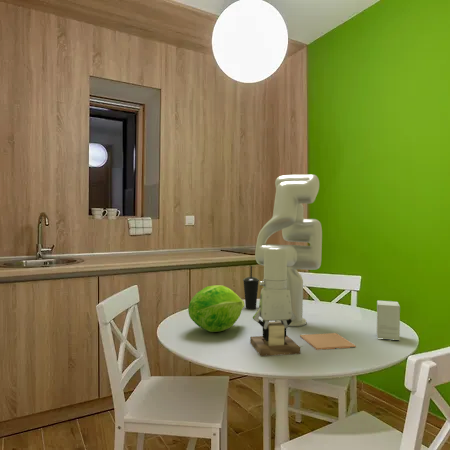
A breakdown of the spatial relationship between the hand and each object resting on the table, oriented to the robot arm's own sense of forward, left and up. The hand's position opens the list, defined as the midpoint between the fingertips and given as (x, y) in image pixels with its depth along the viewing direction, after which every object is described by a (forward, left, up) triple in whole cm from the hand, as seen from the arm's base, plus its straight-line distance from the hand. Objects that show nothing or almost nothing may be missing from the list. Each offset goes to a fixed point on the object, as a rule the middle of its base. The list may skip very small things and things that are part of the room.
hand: (274, 338), depth 127 cm
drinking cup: (-54, +6, -3) cm, 55 cm away
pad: (-3, +20, -3) cm, 20 cm away
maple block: (0, 0, -3) cm, 3 cm away
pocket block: (0, 0, -3) cm, 3 cm away
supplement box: (-4, +44, -3) cm, 44 cm away
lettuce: (-22, -15, -3) cm, 27 cm away
